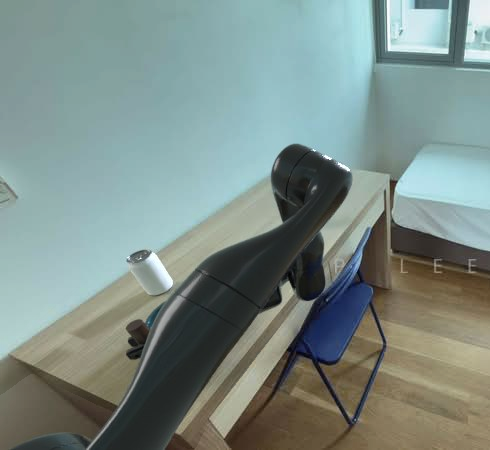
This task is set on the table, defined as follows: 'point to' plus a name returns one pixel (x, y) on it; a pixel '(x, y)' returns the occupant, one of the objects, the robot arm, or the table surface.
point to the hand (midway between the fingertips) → (129, 349)
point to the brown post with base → (138, 331)
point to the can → (149, 272)
